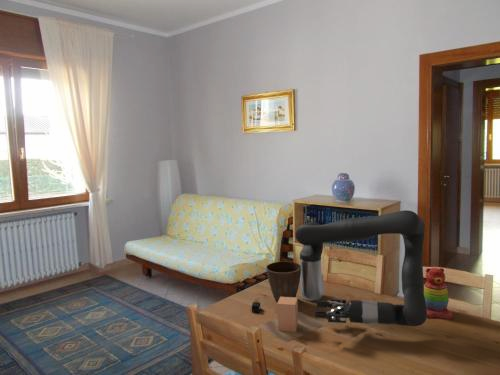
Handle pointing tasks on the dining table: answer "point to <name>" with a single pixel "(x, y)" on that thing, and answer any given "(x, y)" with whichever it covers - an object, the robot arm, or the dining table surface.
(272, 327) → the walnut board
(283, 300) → the pink rectangular block
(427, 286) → the stacking bear
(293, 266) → the plant pot
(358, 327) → the dining table surface
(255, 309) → the black faceted lump
